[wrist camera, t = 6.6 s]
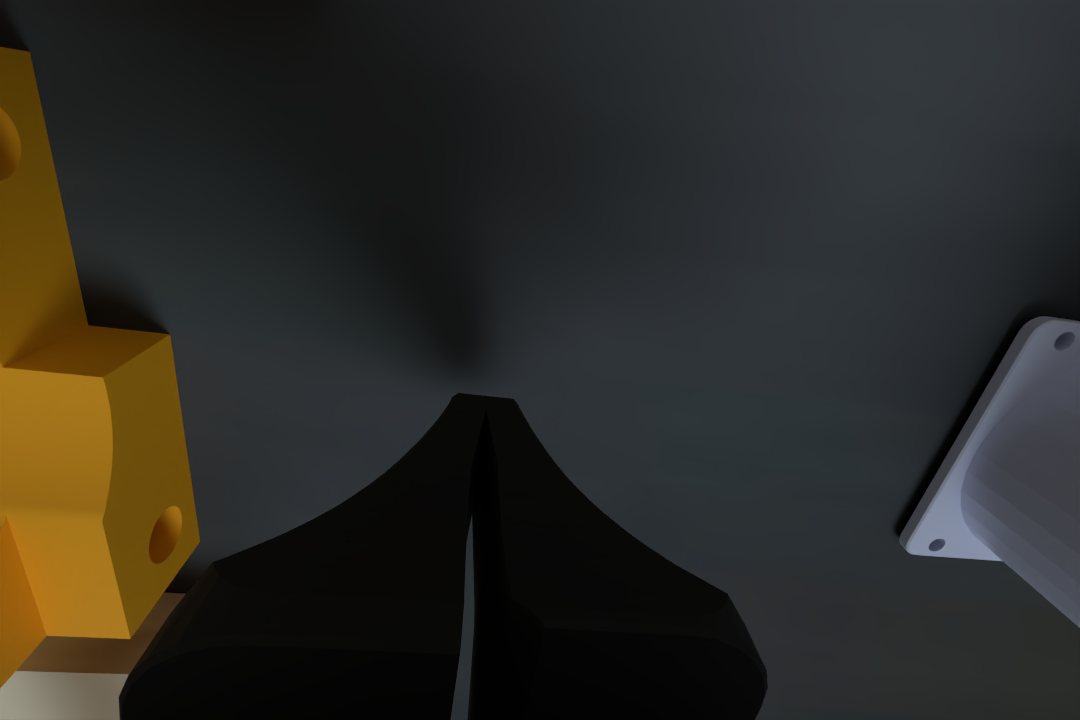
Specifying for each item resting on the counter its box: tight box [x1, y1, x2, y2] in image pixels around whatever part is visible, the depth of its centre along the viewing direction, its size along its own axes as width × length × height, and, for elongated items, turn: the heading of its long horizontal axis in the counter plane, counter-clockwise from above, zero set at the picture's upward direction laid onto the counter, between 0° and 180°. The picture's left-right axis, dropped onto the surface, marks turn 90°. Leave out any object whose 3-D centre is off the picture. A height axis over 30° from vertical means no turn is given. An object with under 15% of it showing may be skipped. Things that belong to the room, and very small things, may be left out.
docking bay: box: [0, 593, 185, 720], centre depth 11 cm, size 10×20×2 cm, turn 171°
